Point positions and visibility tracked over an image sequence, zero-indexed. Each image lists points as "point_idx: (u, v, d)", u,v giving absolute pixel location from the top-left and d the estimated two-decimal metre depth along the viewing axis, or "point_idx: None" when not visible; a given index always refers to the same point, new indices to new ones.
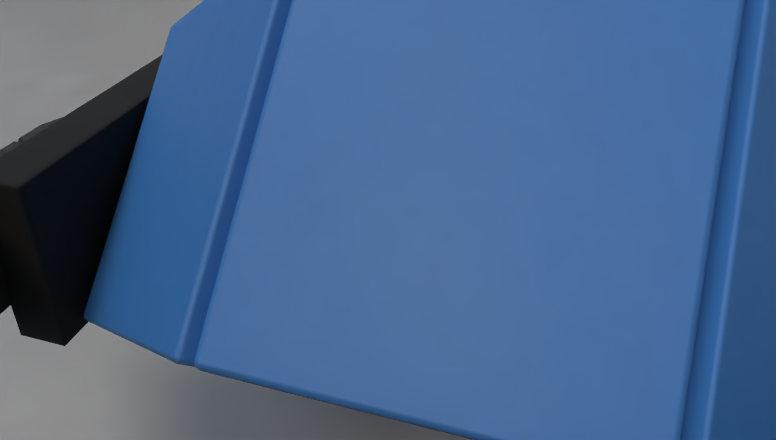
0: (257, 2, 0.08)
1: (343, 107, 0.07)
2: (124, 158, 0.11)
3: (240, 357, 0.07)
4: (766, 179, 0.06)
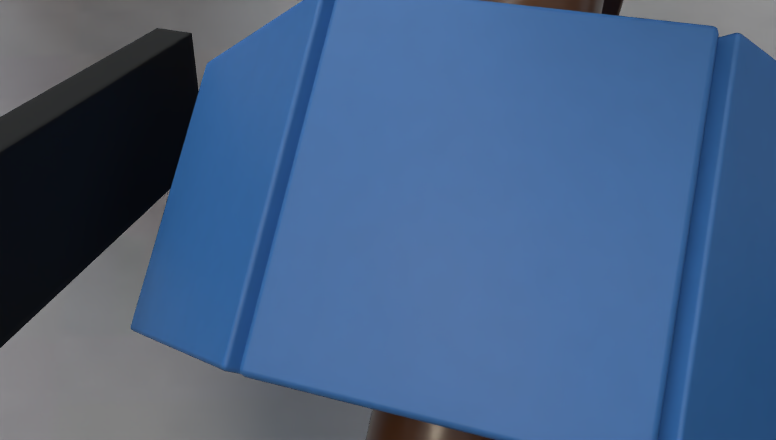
0: (289, 53, 0.09)
1: (366, 148, 0.08)
2: (49, 168, 0.10)
3: (279, 365, 0.08)
4: (733, 211, 0.07)
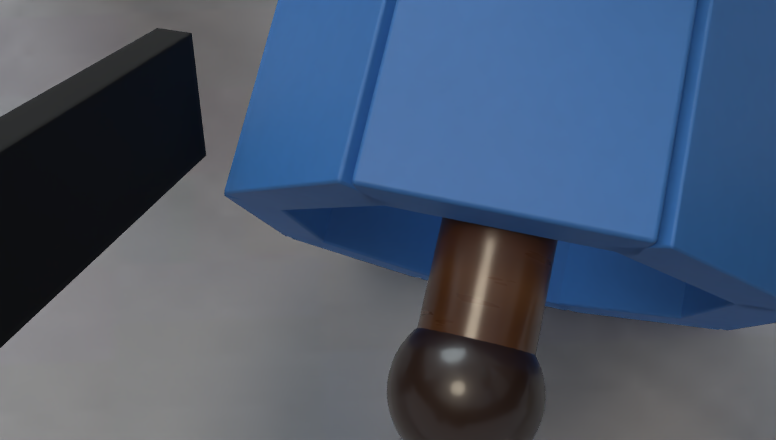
0: None
1: (446, 20, 0.11)
2: (49, 168, 0.10)
3: (383, 175, 0.10)
4: (716, 66, 0.10)
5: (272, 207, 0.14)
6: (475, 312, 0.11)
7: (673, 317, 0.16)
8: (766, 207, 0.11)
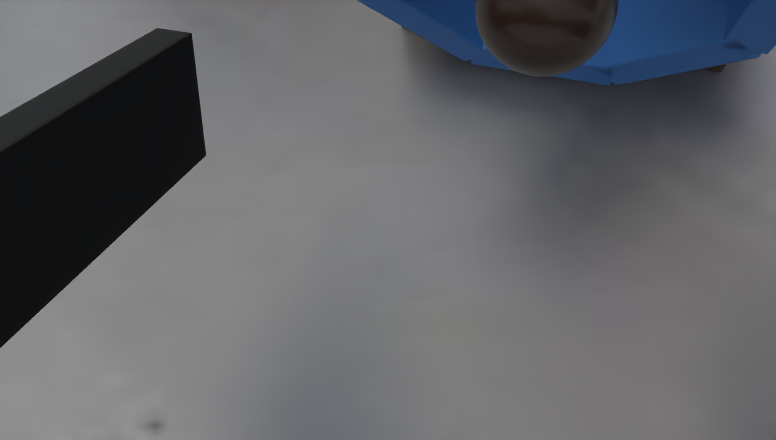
0: None
1: None
2: (49, 168, 0.10)
3: None
4: None
5: None
6: None
7: (716, 43, 0.18)
8: None
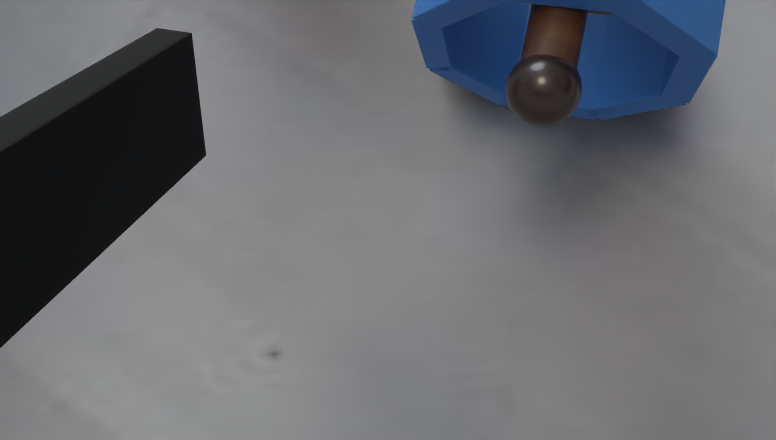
0: None
1: None
2: (49, 168, 0.10)
3: None
4: None
5: (437, 26, 0.27)
6: (550, 44, 0.24)
7: (656, 97, 0.29)
8: None
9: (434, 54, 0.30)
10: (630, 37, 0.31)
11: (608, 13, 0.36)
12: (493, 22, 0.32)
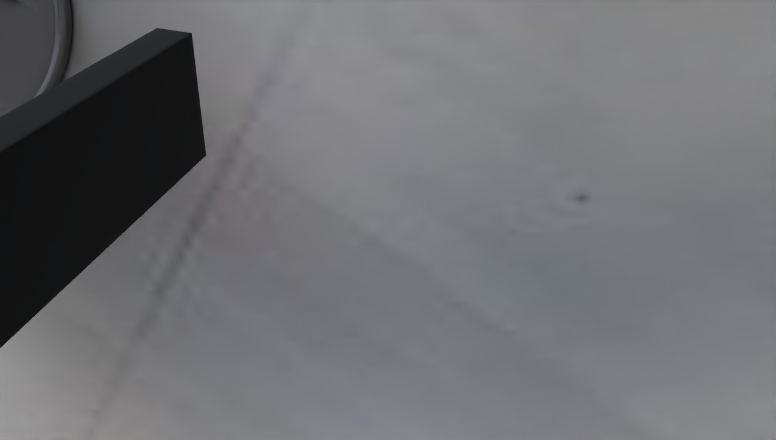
0: None
1: None
2: (49, 168, 0.10)
3: None
4: None
5: None
6: None
7: None
8: None
9: None
10: None
11: None
12: None
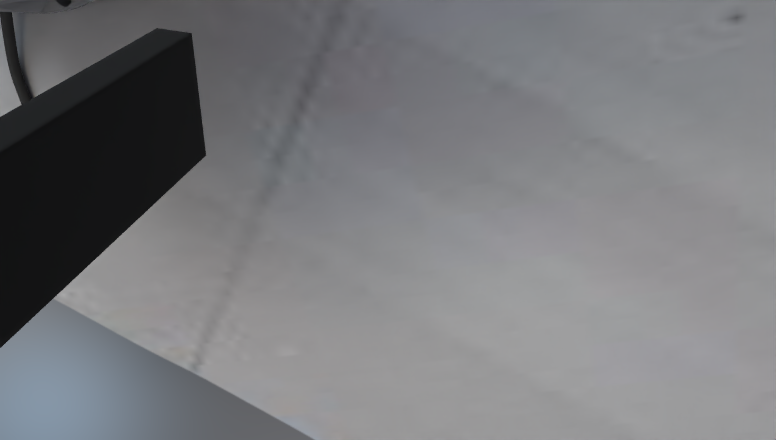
0: None
1: None
2: (49, 168, 0.10)
3: None
4: None
5: None
6: None
7: None
8: None
9: None
10: None
11: None
12: None
